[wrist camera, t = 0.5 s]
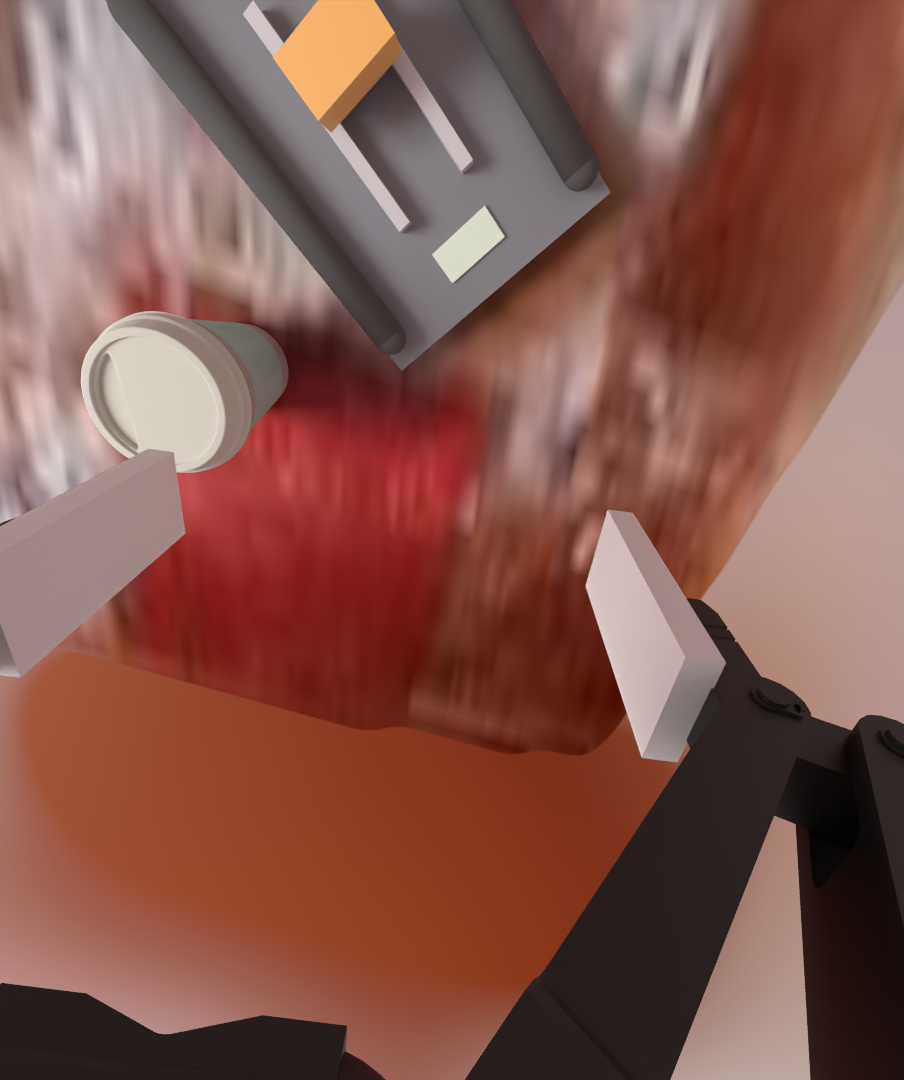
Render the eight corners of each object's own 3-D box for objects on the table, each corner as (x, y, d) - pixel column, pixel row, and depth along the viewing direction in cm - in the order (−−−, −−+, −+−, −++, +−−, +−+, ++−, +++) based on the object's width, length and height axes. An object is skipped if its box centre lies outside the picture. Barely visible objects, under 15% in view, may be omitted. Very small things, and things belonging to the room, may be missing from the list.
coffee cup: (212, 275, 34) (89, 275, 23) (326, 346, 36) (261, 377, 25) (174, 385, 38) (53, 429, 27) (280, 445, 39) (206, 509, 29)
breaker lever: (302, 87, 28) (272, 57, 24) (369, 7, 26) (349, -40, 22) (340, 141, 29) (318, 121, 25) (407, 67, 27) (394, 32, 23)
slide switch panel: (122, 9, 28) (82, -21, 25) (325, -302, 23) (302, -384, 20) (405, 366, 36) (398, 374, 33) (603, 197, 31) (615, 189, 28)
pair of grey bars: (114, 11, 27) (88, -7, 25) (328, -320, 21) (314, -374, 20) (391, 359, 34) (386, 363, 32) (601, 176, 29) (609, 169, 27)
